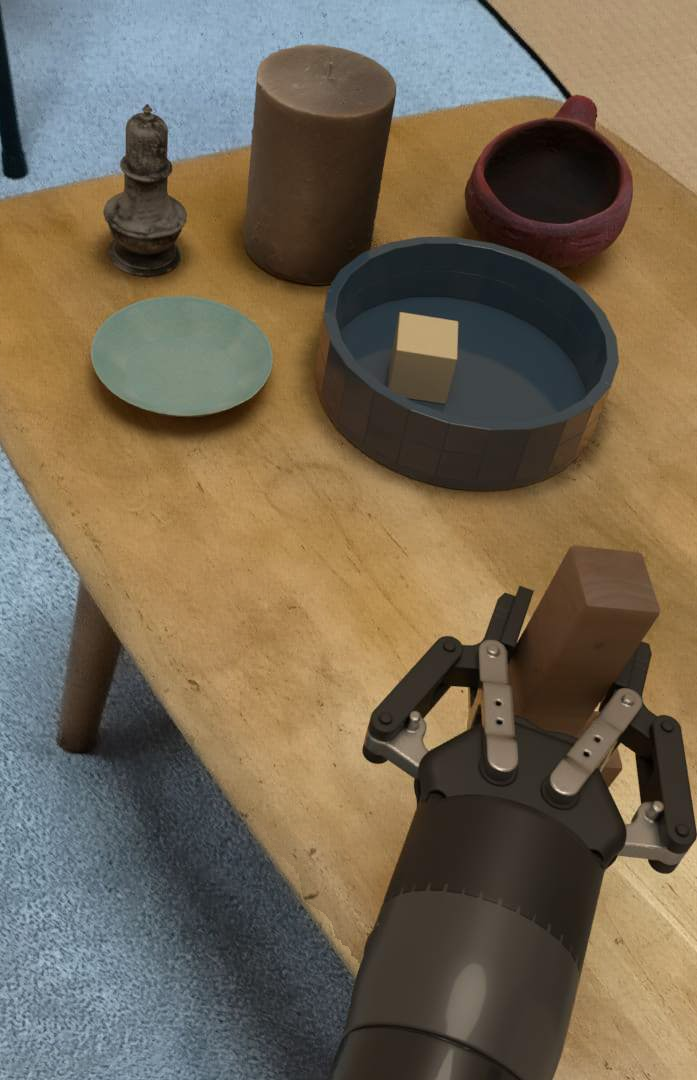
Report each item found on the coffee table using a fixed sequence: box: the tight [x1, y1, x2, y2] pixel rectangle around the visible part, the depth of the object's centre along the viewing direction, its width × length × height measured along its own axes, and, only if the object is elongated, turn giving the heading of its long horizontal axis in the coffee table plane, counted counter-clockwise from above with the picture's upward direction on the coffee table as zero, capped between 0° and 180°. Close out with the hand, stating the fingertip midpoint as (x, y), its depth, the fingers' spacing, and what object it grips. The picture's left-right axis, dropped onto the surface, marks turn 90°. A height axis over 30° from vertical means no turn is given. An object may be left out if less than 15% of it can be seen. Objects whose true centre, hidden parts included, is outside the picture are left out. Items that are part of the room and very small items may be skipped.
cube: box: [388, 312, 458, 404], centre depth 83 cm, size 4×4×4 cm
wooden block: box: [508, 545, 661, 789], centre depth 55 cm, size 7×3×15 cm, turn 94°
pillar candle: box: [243, 43, 397, 286], centre depth 88 cm, size 10×10×15 cm
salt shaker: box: [102, 103, 188, 278], centre depth 86 cm, size 6×6×12 cm
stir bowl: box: [314, 236, 620, 492], centre depth 84 cm, size 20×20×6 cm
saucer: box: [90, 295, 274, 418], centre depth 82 cm, size 12×12×2 cm
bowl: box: [464, 94, 634, 269], centre depth 96 cm, size 16×13×8 cm
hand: (574, 619), depth 56 cm, fingers closed on wooden block, 4 cm apart
